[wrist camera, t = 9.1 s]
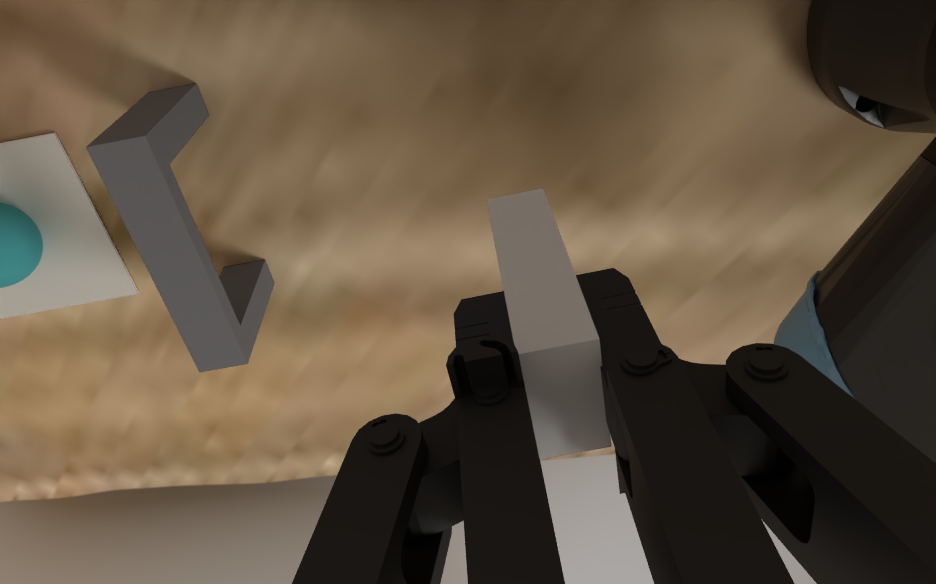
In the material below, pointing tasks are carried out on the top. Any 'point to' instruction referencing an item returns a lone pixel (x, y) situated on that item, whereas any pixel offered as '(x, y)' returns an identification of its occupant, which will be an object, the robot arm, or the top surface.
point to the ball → (17, 245)
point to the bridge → (179, 229)
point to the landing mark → (58, 231)
